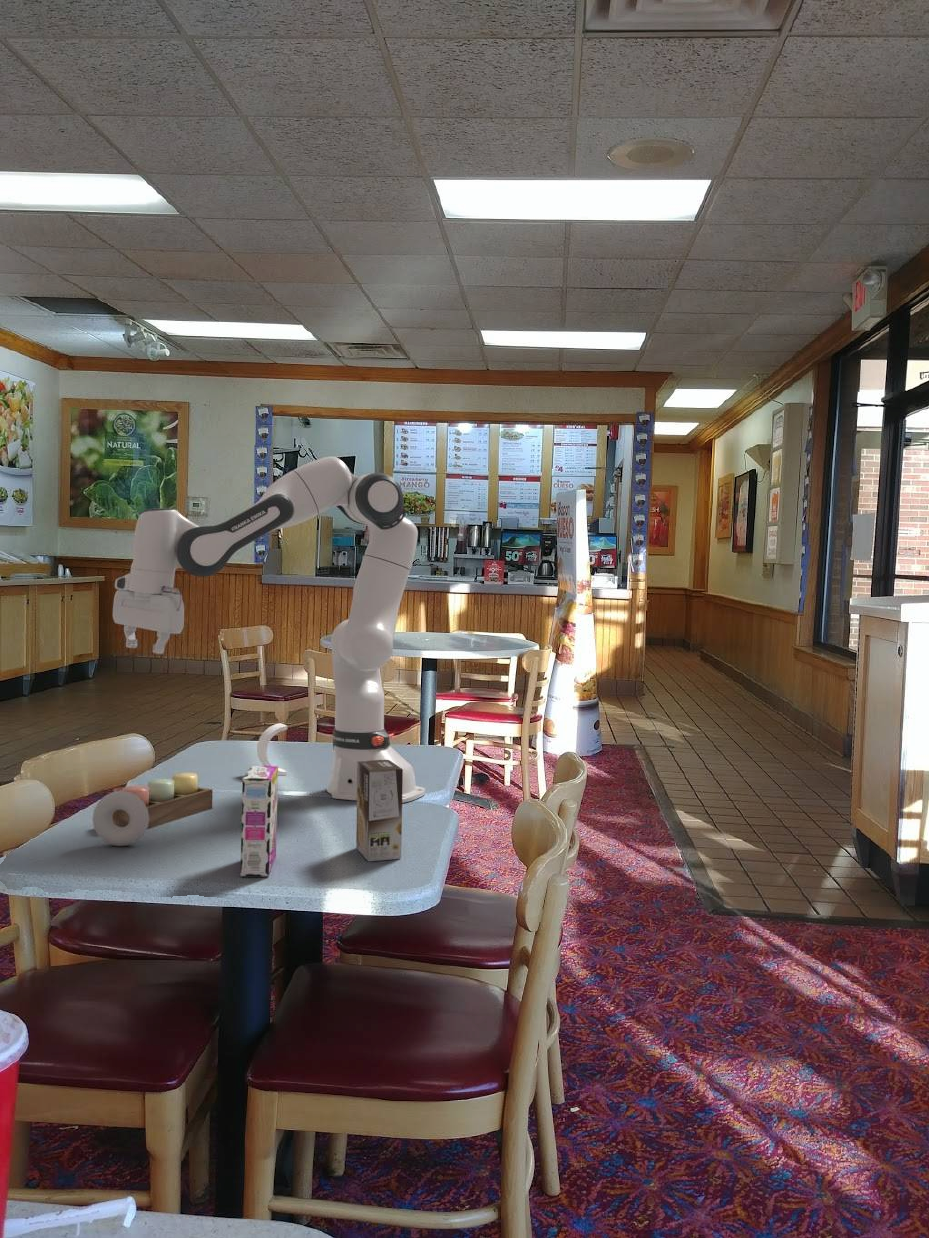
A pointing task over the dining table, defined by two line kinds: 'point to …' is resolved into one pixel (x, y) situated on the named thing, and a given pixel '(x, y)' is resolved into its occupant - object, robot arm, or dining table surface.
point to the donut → (106, 825)
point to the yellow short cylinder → (185, 783)
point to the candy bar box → (259, 821)
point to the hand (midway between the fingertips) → (144, 650)
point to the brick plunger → (139, 792)
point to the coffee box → (379, 810)
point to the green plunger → (161, 790)
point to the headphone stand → (264, 743)
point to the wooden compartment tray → (171, 808)
